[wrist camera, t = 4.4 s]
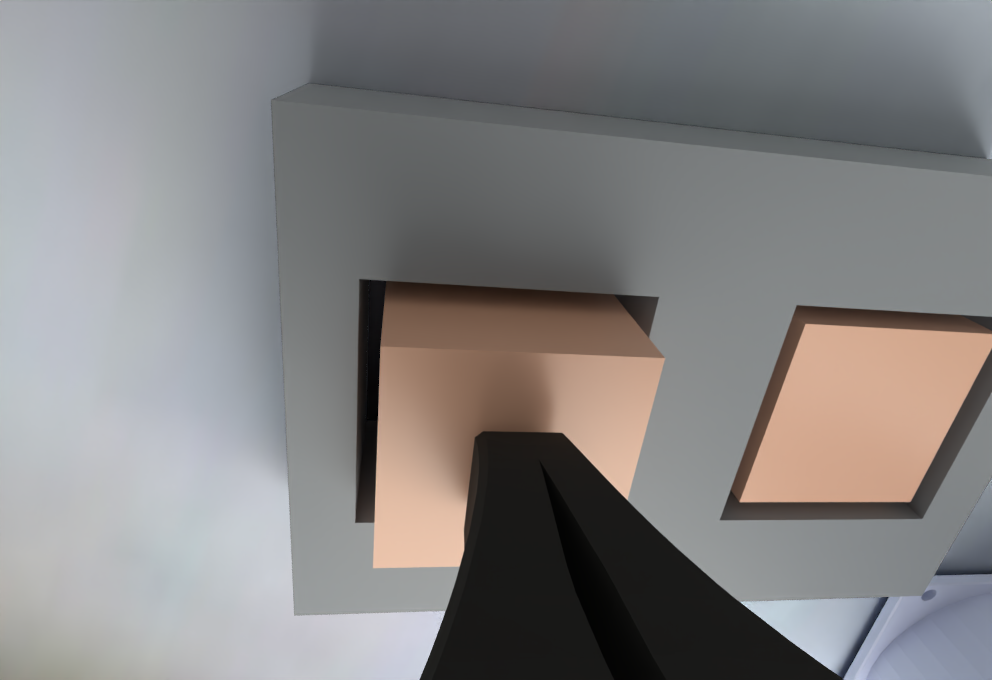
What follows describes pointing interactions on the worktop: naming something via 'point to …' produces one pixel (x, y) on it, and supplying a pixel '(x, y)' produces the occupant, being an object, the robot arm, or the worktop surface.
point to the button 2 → (859, 404)
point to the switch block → (643, 293)
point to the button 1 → (496, 398)
